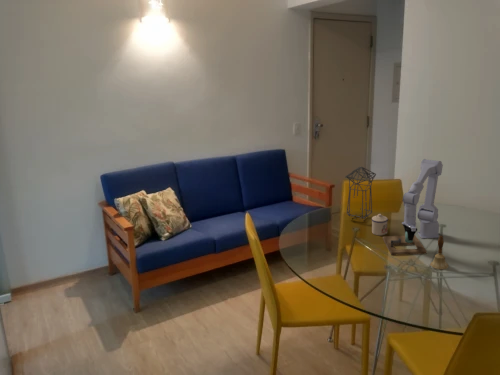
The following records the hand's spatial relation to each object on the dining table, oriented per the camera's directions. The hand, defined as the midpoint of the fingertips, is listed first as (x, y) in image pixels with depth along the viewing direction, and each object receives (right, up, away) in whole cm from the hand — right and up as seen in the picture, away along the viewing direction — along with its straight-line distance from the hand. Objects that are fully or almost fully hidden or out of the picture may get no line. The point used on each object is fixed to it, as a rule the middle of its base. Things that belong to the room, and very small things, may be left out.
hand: (409, 238), depth 230 cm
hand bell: (+8, -12, -18) cm, 23 cm away
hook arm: (-6, -6, +2) cm, 9 cm away
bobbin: (0, -2, +1) cm, 2 cm away
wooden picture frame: (-1, -5, +5) cm, 7 cm away
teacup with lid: (-8, +1, +25) cm, 26 cm away
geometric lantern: (-15, +7, +44) cm, 47 cm away
